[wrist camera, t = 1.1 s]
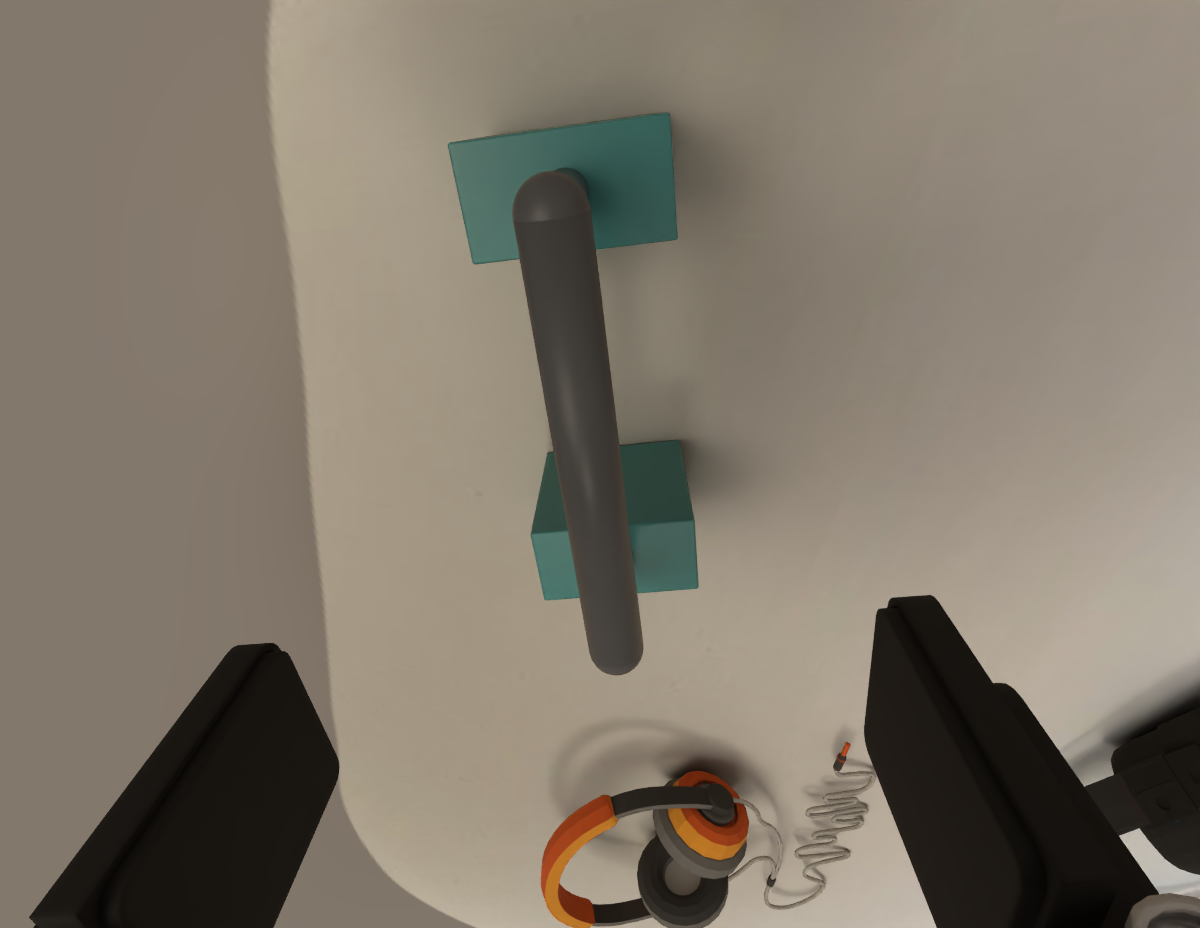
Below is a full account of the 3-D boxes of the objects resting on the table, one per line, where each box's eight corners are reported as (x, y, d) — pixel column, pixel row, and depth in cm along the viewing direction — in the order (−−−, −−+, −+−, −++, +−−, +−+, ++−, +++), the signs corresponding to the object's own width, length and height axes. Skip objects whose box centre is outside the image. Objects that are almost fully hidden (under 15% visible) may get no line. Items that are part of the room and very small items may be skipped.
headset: (489, 136, 21) (385, 153, 12) (656, 112, 21) (690, 110, 11) (557, 511, 28) (528, 709, 19) (683, 499, 28) (717, 697, 18)
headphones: (845, 945, 41) (535, 1007, 36) (805, 861, 45) (525, 906, 40) (945, 780, 33) (563, 831, 28) (885, 697, 37) (547, 729, 32)
